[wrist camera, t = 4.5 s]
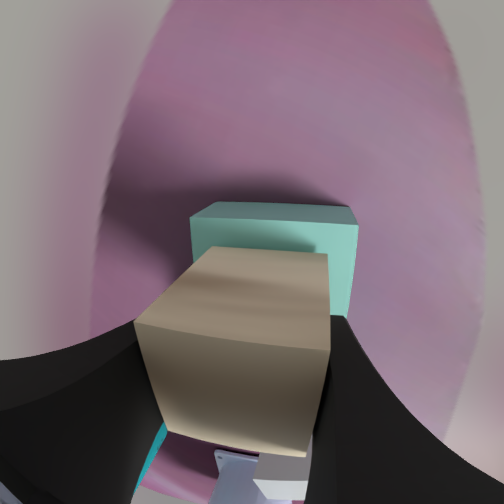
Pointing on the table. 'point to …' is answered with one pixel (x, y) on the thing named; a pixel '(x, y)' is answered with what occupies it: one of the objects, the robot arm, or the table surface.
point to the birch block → (241, 348)
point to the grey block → (283, 475)
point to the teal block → (284, 236)
